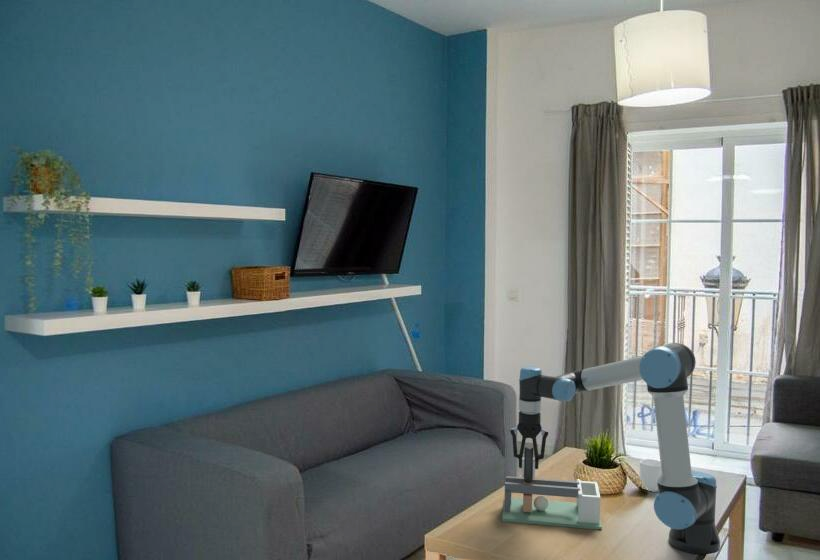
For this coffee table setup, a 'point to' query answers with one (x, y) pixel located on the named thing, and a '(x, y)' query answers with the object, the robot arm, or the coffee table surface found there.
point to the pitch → (554, 503)
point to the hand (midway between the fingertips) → (528, 477)
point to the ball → (540, 503)
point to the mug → (650, 473)
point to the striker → (528, 478)
